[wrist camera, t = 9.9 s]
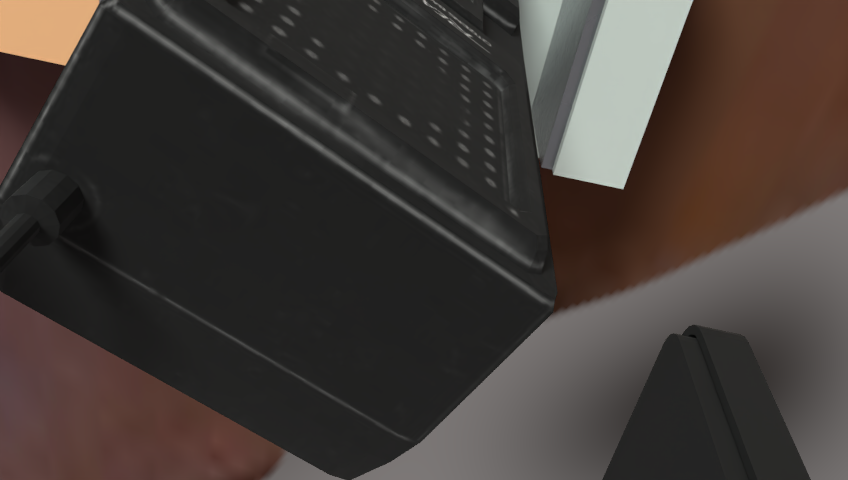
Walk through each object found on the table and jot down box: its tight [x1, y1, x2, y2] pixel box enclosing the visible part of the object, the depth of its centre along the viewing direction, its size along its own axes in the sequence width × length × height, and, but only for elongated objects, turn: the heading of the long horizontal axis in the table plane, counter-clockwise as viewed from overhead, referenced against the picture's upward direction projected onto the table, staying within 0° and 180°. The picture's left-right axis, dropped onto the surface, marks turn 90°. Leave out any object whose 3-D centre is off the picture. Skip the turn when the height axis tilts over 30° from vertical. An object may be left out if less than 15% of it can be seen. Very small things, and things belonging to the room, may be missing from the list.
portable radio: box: [0, 0, 557, 480], centre depth 20 cm, size 8×6×25 cm
